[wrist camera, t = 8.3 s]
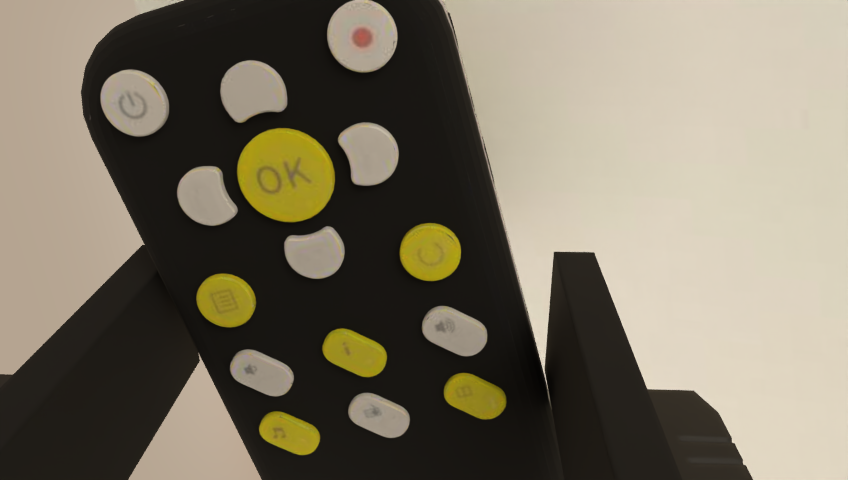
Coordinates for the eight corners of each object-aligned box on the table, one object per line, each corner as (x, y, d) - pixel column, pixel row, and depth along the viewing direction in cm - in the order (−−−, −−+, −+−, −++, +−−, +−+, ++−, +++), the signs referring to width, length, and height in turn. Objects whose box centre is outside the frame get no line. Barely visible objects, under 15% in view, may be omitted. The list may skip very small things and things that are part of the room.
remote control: (329, 543, 17) (313, 617, 15) (88, 31, 12) (22, 51, 10) (578, 501, 16) (593, 575, 14) (428, -77, 11) (421, -77, 9)
